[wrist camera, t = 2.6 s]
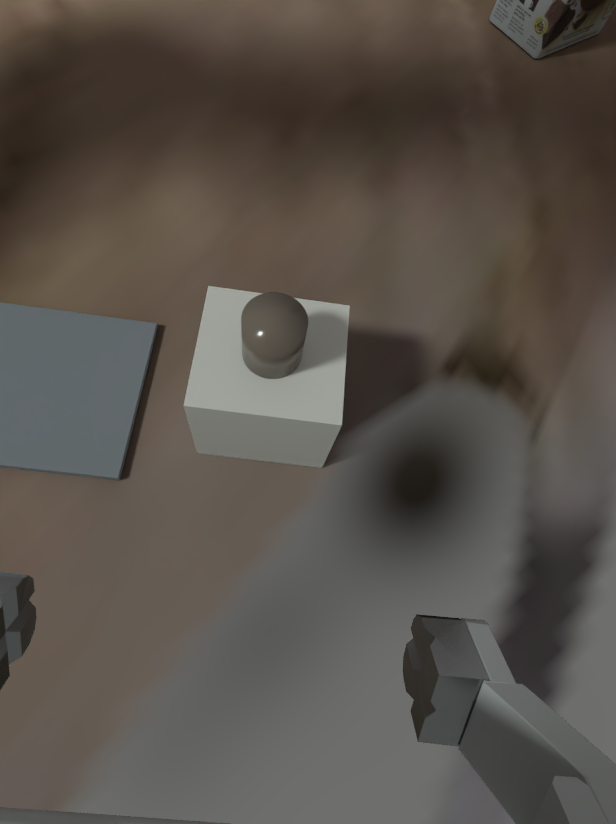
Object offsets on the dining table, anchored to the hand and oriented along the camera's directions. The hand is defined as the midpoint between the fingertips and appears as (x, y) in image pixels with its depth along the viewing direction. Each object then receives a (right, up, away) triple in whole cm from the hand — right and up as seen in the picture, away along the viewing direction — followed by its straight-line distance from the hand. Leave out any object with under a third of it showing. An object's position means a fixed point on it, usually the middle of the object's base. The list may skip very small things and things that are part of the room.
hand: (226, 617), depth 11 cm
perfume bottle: (0, +5, +16) cm, 17 cm away
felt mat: (-12, +6, +15) cm, 20 cm away
